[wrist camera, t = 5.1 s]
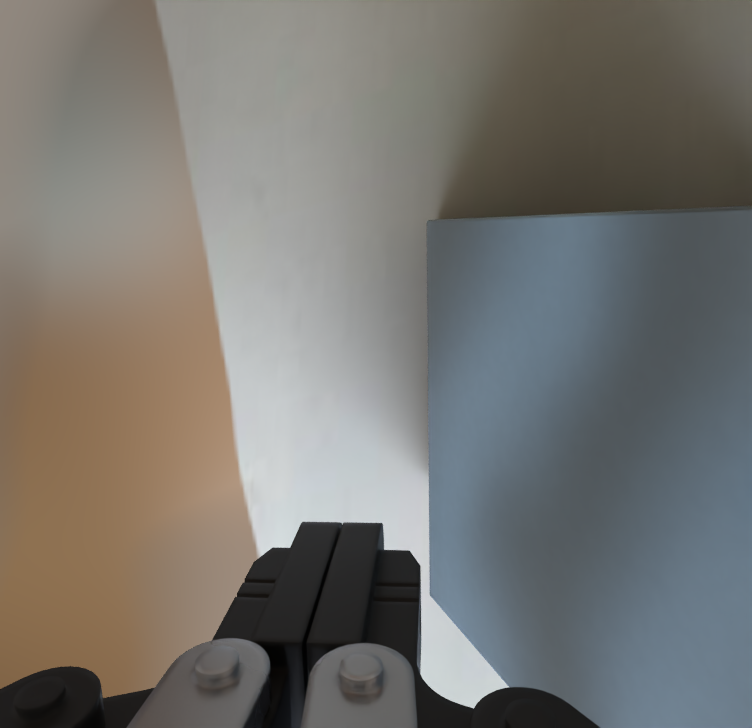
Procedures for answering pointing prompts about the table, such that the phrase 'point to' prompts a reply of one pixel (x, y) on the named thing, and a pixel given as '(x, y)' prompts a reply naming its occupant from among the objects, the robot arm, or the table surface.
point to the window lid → (597, 456)
